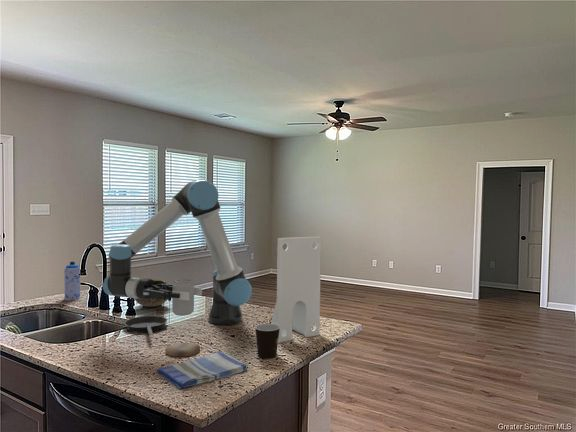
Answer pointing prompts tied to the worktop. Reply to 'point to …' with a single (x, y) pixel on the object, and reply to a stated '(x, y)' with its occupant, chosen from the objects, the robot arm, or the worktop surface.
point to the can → (183, 305)
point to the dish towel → (202, 370)
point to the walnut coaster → (182, 349)
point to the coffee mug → (267, 340)
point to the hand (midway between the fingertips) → (195, 293)
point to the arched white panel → (298, 287)
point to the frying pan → (145, 323)
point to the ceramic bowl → (152, 300)
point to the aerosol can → (72, 282)
